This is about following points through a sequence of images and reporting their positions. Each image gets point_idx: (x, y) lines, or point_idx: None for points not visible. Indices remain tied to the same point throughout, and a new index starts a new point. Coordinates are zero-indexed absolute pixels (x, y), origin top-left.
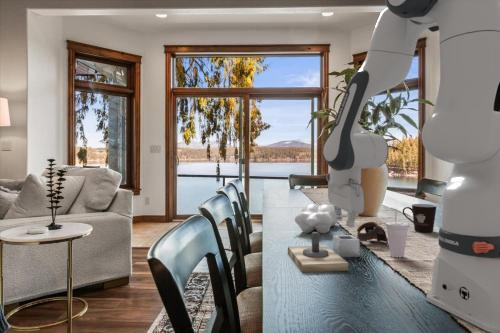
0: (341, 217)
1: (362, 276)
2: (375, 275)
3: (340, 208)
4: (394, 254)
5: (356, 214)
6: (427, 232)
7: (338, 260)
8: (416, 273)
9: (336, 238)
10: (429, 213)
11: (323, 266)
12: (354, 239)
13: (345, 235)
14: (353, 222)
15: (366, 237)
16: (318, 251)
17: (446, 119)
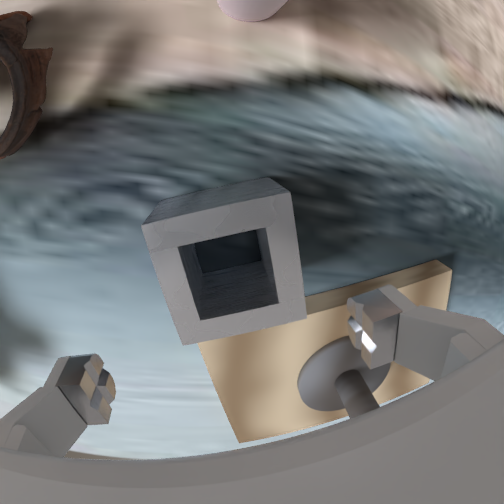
0: (89, 374)
1: (475, 225)
2: (474, 184)
3: (36, 440)
4: (279, 8)
5: (493, 327)
6: None
7: (426, 299)
8: (455, 47)
9: (251, 330)
10: None
11: None
12: (288, 227)
13: (163, 271)
14: (410, 307)
15: (31, 109)
16: (358, 372)
17: None
